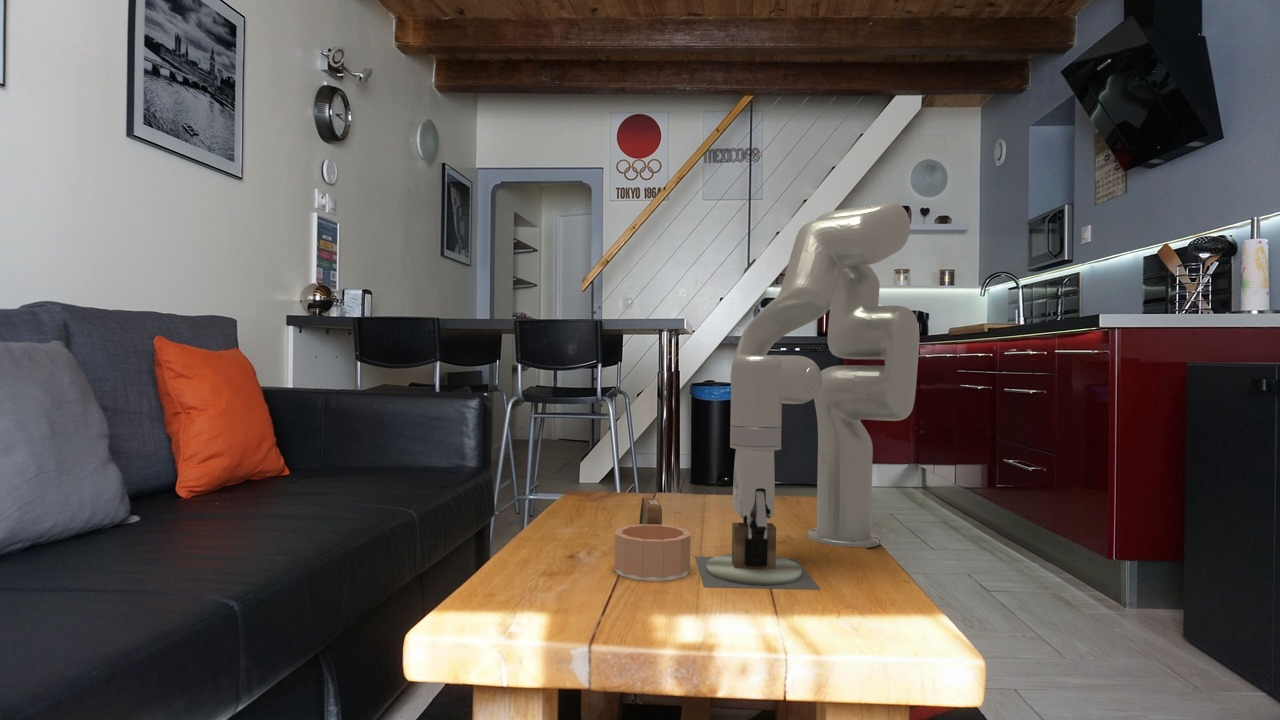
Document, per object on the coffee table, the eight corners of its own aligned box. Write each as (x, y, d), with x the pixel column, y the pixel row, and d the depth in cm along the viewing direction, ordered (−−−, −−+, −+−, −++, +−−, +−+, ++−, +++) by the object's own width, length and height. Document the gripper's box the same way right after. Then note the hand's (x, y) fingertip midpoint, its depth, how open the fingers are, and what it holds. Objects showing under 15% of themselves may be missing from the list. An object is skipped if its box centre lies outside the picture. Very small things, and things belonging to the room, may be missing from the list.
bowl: (616, 562, 111) (616, 523, 111) (686, 563, 111) (687, 525, 111) (613, 583, 100) (614, 540, 100) (691, 584, 100) (692, 541, 100)
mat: (694, 559, 113) (695, 556, 113) (795, 561, 113) (795, 558, 113) (703, 590, 97) (704, 586, 97) (820, 592, 97) (820, 589, 97)
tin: (637, 540, 126) (638, 492, 126) (655, 540, 126) (656, 492, 126) (642, 562, 111) (643, 508, 111) (662, 563, 111) (663, 509, 111)
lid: (702, 557, 112) (702, 514, 112) (790, 559, 112) (791, 516, 112) (710, 584, 98) (711, 535, 98) (812, 586, 98) (812, 536, 98)
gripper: (723, 433, 114) (722, 548, 114) (737, 443, 97) (735, 578, 97) (770, 433, 114) (768, 549, 114) (792, 444, 97) (790, 579, 97)
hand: (753, 561), depth 105 cm, fingers closed on lid, 3 cm apart
